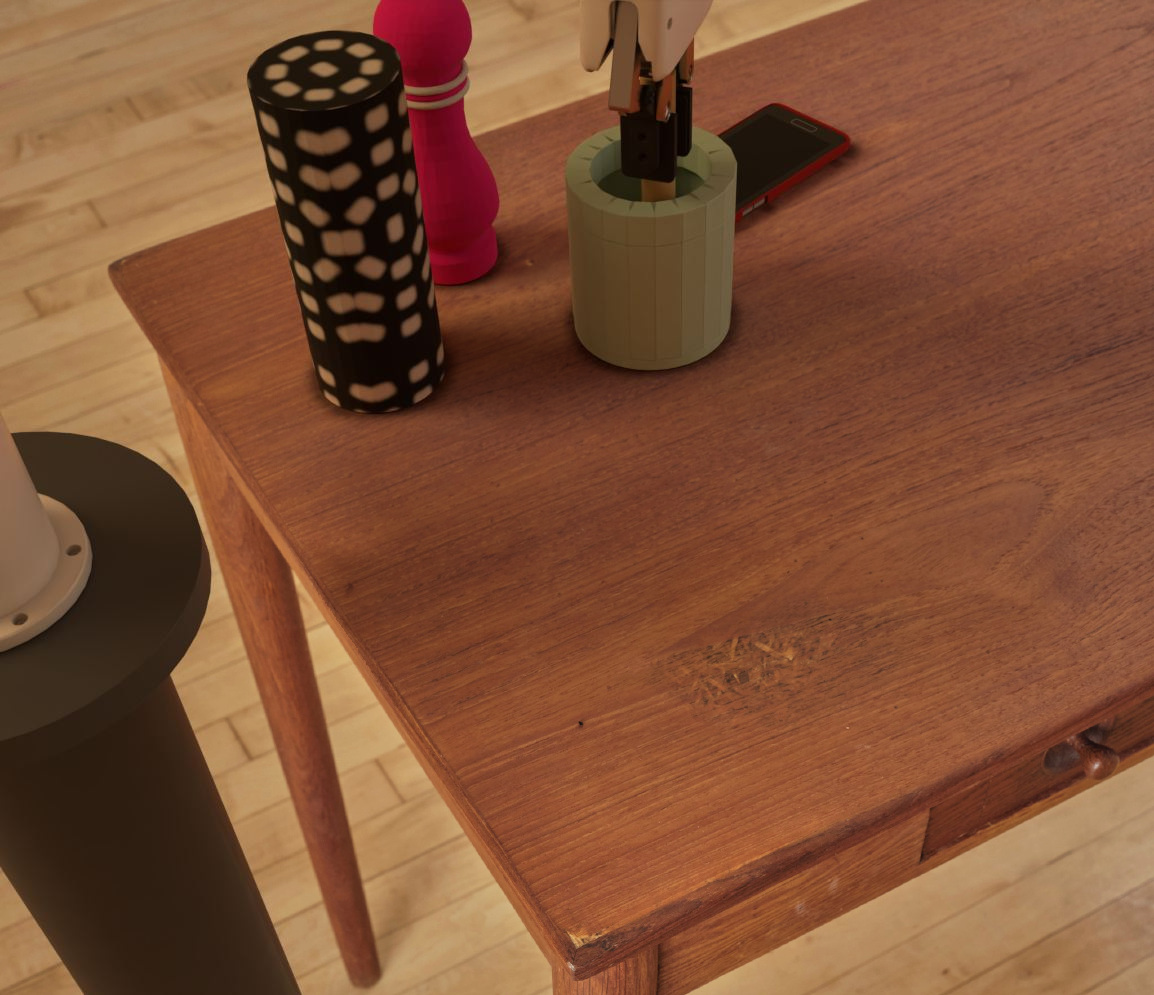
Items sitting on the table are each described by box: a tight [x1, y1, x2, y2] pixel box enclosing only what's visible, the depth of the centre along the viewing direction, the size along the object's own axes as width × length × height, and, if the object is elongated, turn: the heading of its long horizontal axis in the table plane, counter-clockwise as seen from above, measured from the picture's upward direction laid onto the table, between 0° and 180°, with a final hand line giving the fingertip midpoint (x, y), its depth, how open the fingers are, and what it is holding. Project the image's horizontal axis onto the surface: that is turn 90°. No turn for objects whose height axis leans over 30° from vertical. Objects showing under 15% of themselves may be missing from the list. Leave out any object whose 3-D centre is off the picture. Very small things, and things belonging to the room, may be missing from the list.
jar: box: [564, 124, 737, 371], centre depth 94 cm, size 10×10×11 cm
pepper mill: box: [372, 0, 501, 286], centre depth 95 cm, size 7×7×20 cm
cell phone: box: [716, 102, 851, 224], centre depth 107 cm, size 8×15×1 cm, turn 134°
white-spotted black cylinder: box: [246, 29, 446, 414], centre depth 88 cm, size 8×8×20 cm
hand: (656, 162), depth 87 cm, fingers closed
